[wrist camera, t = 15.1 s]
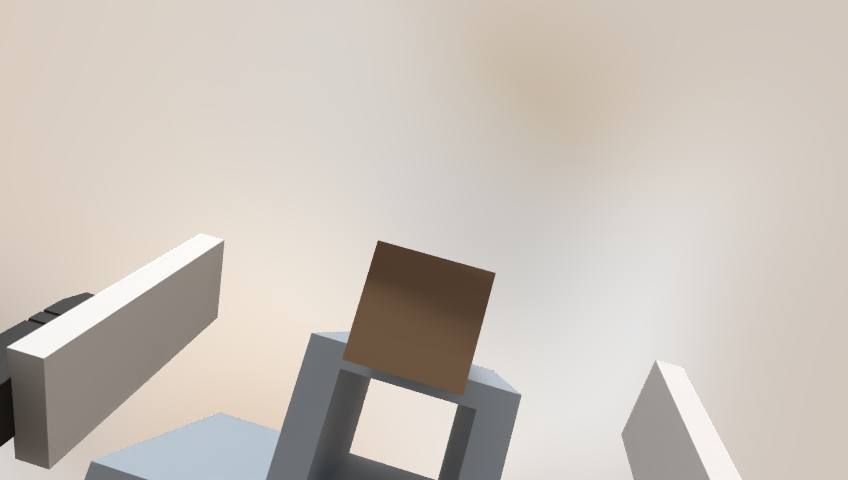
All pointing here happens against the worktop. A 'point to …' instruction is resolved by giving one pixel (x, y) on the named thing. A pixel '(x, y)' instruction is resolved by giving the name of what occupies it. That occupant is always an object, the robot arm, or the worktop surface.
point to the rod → (419, 317)
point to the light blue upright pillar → (323, 431)
